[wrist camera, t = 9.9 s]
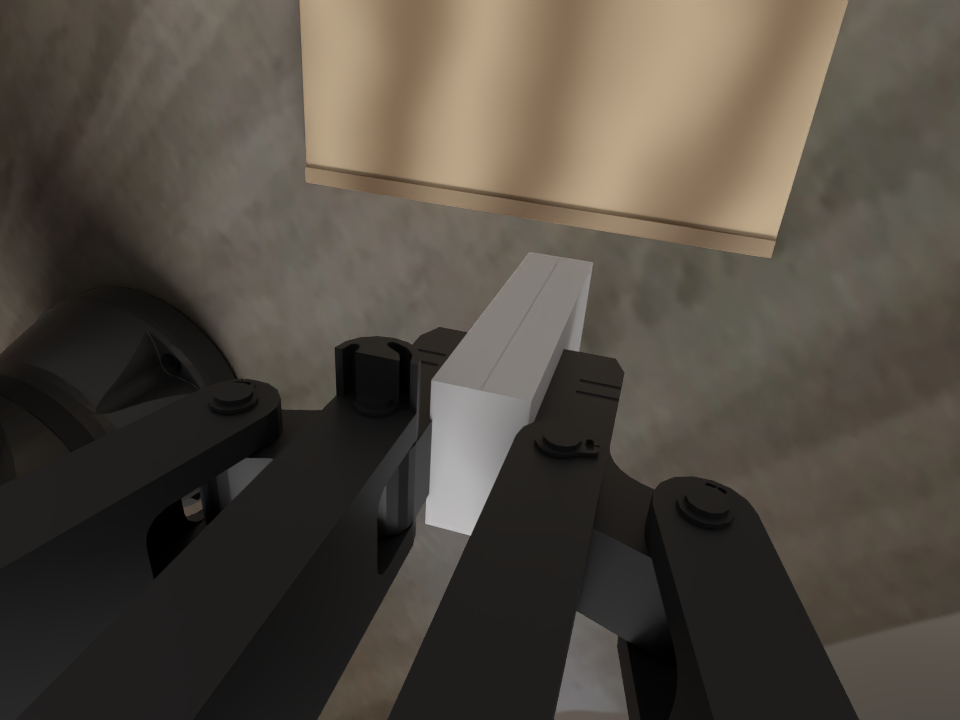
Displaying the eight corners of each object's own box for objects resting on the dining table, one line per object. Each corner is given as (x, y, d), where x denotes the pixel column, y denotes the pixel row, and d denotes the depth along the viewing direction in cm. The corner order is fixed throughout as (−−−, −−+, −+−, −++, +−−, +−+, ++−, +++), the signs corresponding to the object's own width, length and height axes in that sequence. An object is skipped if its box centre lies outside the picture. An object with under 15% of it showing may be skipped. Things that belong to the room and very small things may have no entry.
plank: (323, 176, 32) (305, 183, 31) (316, -48, 28) (295, -52, 26) (766, 247, 27) (770, 259, 26) (843, -10, 23) (853, -13, 22)
